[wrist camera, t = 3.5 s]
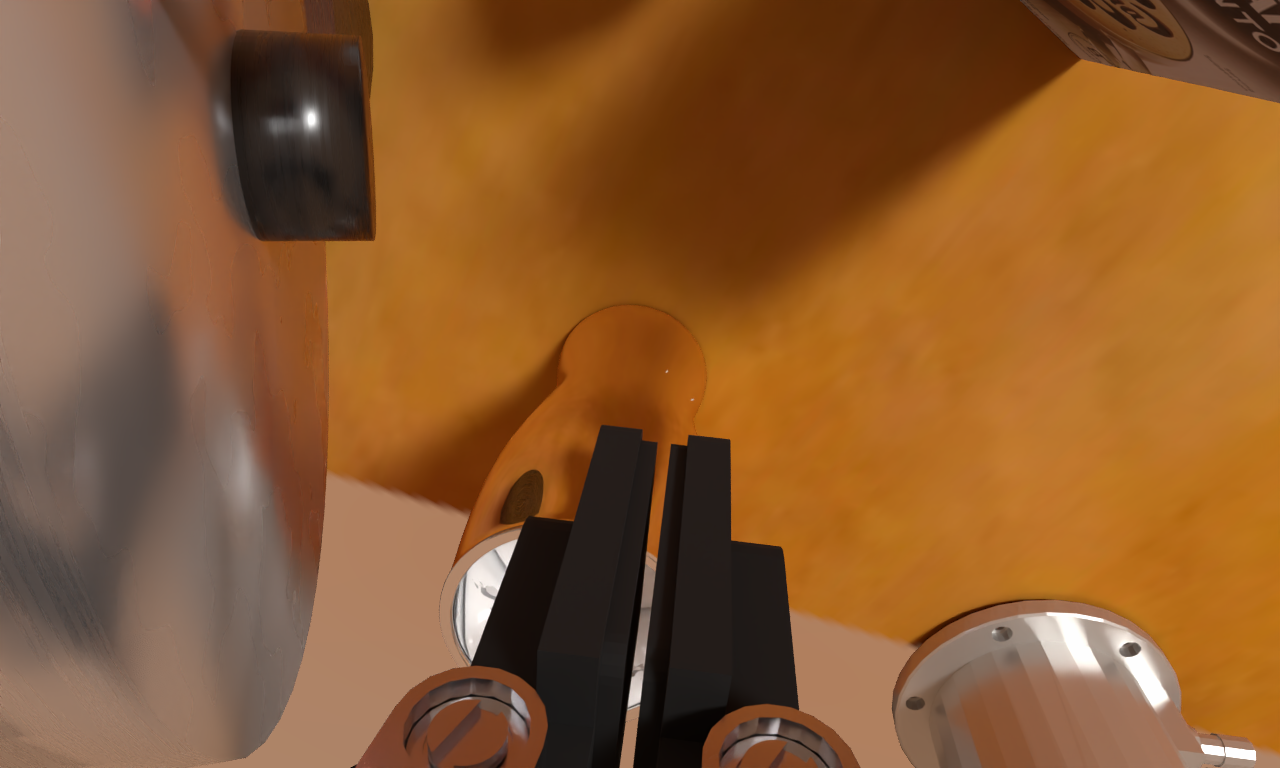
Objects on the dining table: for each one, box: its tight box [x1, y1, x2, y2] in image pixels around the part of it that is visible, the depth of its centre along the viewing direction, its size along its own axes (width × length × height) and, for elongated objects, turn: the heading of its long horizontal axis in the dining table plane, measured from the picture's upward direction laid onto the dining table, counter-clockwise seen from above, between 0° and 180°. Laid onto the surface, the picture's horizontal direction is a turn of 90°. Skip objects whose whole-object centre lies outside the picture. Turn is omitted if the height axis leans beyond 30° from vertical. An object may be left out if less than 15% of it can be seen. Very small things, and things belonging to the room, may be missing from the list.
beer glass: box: [439, 305, 707, 722], centre depth 27 cm, size 7×7×15 cm
